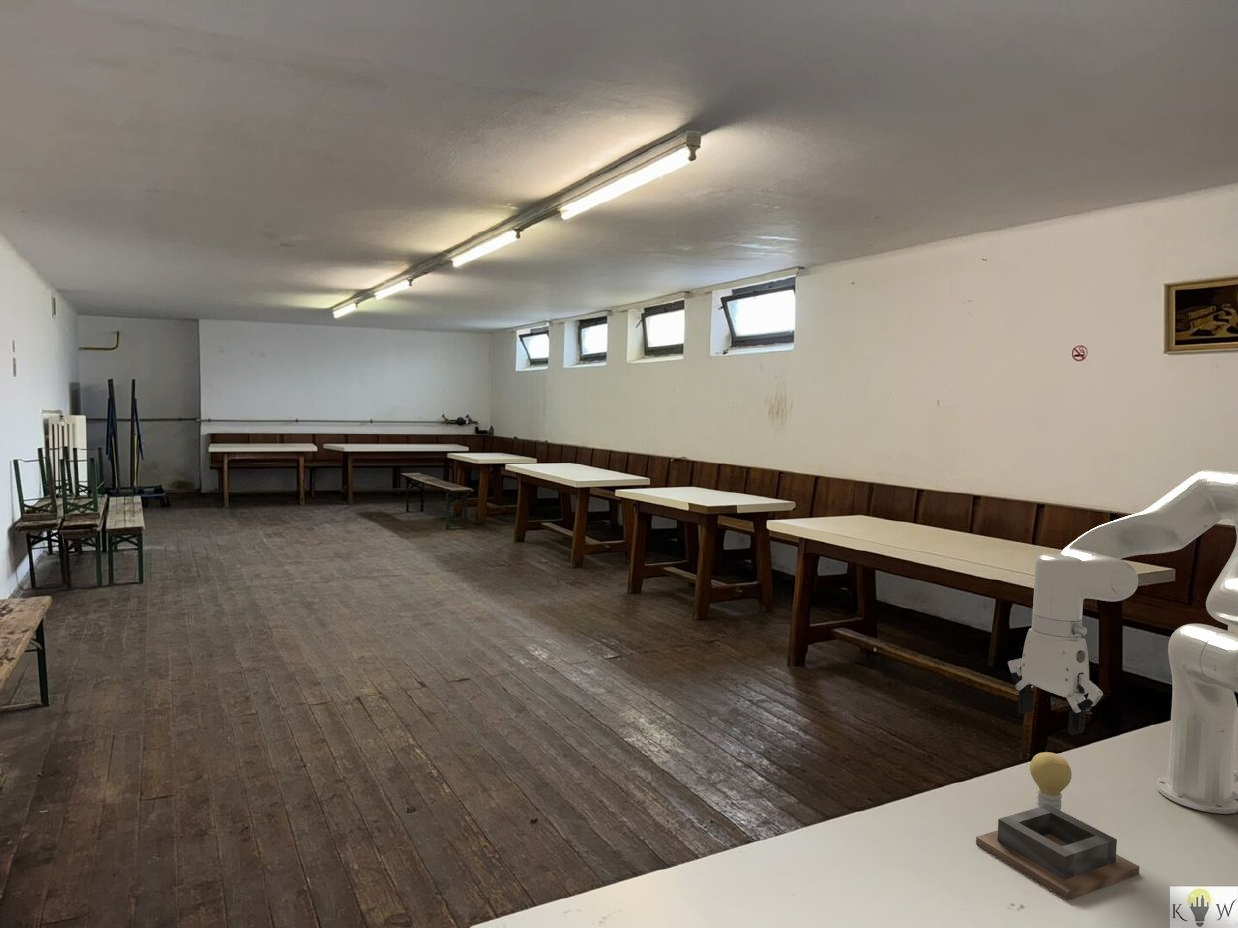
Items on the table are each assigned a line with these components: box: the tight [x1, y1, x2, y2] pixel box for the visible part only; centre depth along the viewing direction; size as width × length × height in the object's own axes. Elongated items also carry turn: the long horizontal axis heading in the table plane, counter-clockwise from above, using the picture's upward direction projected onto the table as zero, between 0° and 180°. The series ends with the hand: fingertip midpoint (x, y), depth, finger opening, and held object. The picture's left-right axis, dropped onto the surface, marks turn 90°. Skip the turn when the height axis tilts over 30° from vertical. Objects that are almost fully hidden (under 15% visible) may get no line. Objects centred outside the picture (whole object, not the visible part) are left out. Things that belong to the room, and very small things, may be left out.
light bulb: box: [1029, 751, 1072, 811], centre depth 139 cm, size 6×6×10 cm
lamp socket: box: [975, 805, 1141, 901], centre depth 123 cm, size 16×16×5 cm
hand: (1049, 722), depth 138 cm, fingers open, 9 cm apart
